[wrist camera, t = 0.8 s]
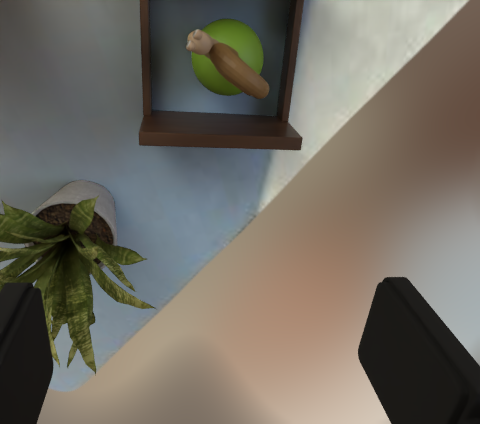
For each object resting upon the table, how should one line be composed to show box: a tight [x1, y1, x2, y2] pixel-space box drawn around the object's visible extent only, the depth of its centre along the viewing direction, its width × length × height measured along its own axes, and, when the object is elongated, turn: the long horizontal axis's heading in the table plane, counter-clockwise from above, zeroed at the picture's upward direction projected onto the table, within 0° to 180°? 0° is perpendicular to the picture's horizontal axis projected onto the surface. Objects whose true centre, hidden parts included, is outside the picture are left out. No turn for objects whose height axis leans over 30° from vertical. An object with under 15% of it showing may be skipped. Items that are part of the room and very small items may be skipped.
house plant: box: [0, 180, 156, 374], centre depth 30 cm, size 14×14×16 cm
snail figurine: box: [186, 19, 269, 99], centre depth 28 cm, size 5×6×12 cm
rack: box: [139, 0, 304, 150], centre depth 30 cm, size 12×12×6 cm
